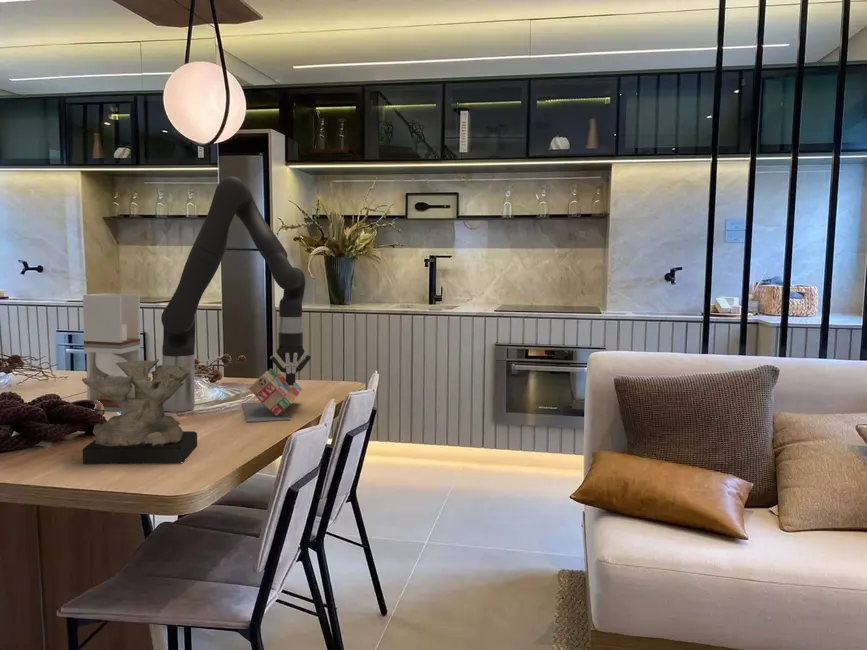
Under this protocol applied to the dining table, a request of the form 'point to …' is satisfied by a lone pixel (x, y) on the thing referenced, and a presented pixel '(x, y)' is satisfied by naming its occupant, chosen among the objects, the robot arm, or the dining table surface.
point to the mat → (261, 413)
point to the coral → (140, 418)
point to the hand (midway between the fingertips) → (290, 384)
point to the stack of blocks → (275, 391)
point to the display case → (110, 338)
